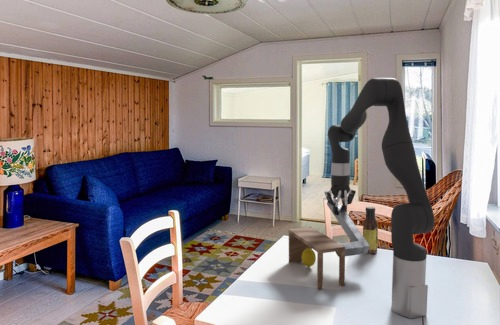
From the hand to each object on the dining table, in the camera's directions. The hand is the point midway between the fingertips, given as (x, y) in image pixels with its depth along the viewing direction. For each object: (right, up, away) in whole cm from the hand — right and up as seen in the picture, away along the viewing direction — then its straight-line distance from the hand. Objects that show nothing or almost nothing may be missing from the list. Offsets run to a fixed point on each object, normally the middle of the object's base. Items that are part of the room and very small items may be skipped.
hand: (339, 214), depth 155 cm
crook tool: (-3, -5, -5) cm, 8 cm away
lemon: (-14, -20, -7) cm, 26 cm away
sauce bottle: (+16, -18, +9) cm, 26 cm away
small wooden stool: (-13, -21, -13) cm, 28 cm away
